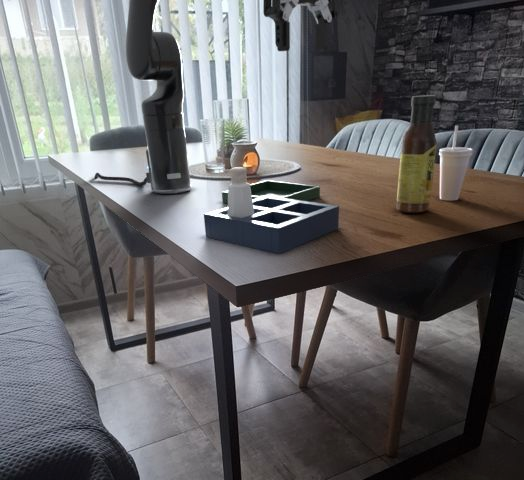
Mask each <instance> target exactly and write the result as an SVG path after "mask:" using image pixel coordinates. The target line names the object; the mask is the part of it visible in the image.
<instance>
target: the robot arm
mask: <svg viewBox="0 0 524 480" xmlns="http://www.w3.org/2000/svg"><path fill="white" fill-rule="evenodd" d="M159 2H160V0H129V1H128V11H127V12H128V14H127V23H126V25H127V26H126V36H125V58H126V66H127V69H128V71H129V74H130V75H131V76H132V78H134V79H135V80H136V81H139V82H140V81H141V82H153V81H154V82H156V89H155V90H154V92H153V93H152V94H151V95H150V96H149V97H147V98H145V99H144V100H142V102H141V105H140V107H141V114H142V120H143V127H144V133H145V140H146V147H147V149H146V150H145V154H146V162H147V165H146V168H147V169H148V171H147V172H145V175H146V176H145V178H144V179H143V180H142V181H138V180H137V179H134V178H131V177H125V176H108V175H107V176H106V175H102V174H101V173H100V172H96V173H95V174H94V179H98V178H99V179H101V180H103V181H115V182H116V181H118V182H119V181H120V182H130V183H133V184H134V185H136V186H140V187H143V186H146V185H147V184H150V188H151V189H150V190H151V191H153V193H155V194H159V195H174V194H175V195H176V194H182V193H185V192H189V191H191V190H192V183H191V177H190V176H191V175H190V166H189V165H190V164H189V155H188V147H187V140H186V139H187V138H186V131H185V122H184V111H183V103H184V97H185V94H184V80H183V79H184V78H183V63H182V54H181V50H180V45H179V43H178V41H177V39H176V37H175V36H174V35H173V34H172V33H170V32H167V31H154V23H155V15H156V11H157V7H158V5H159ZM331 2H332V4H331ZM340 3H341V2H340V0H263V7H262V8H263V11H262V12H263V16H264V17H265V18H270V19H271V20H272V21H273V22H274V35H275V36H274V37H275V38H274V40H275V47H276V50H277V52H288V51H290V48H291V36H290V35H291V26H290V25H291V23H290V21H288V20H289V19H290V16H291V15H292V12H293V10H294V9H295V8H296V7H297V6H299V5H300V6H302V7H307V9H308V11H309V12H311V13H312V15H313V17H314V20H315V22H316V24H315V39H314V40H315V41H314V43H315V44H314V45H315V46H314V47H315V51H316V52H323V51H327V50H328V47H329V45H330V25H331V22H332V21H333V20H334V19H338V18H339V17H340V7H341V6H340ZM331 7H332V8H331ZM108 271H109V275H110V279H111V280H110V281H111V283H112V284H111V285H112V289H113V294H114V295H117V294H118V291H117V286H116V280H115V275H114V271H113V268H112V267H110V266H108Z"/></svg>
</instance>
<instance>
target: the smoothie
mask: <svg viewBox="0 0 524 480" xmlns="http://www.w3.org/2000/svg"><path fill="white" fill-rule="evenodd" d="M458 132H459V125H455V126H454V133H453V139H452V146H449V147H441V148H440V149H439V151H438V155H439V199H440V200H441V201H448V202H451V201H453V202H454V201H458V200H459V198H460V194H461V191H462V188H463V183H464V180H465V177H466V173H467V170H468V166H469V162H470V158H471V156H473V151H474V149H473V148H471V147H462V146H456V145H457V138H458Z"/></svg>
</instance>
